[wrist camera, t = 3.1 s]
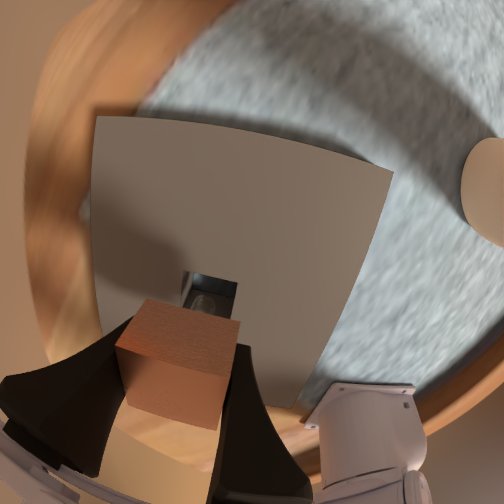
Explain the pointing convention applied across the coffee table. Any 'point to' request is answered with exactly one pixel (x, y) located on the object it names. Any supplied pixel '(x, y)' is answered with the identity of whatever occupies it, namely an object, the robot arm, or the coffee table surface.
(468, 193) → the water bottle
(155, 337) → the orange rectangular block
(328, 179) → the base
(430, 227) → the coffee table surface
